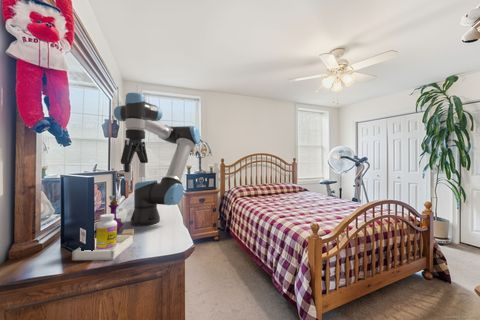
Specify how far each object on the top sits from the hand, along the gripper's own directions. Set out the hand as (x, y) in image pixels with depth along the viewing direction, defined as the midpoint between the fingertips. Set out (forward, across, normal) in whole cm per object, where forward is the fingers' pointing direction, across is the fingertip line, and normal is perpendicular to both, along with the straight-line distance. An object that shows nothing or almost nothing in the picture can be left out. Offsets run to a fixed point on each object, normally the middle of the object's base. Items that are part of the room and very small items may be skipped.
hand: (135, 178), depth 91 cm
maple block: (+27, +1, -3) cm, 27 cm away
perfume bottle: (+27, -7, -14) cm, 31 cm away
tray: (+26, +12, -6) cm, 29 cm away
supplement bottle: (+26, +12, -6) cm, 29 cm away
